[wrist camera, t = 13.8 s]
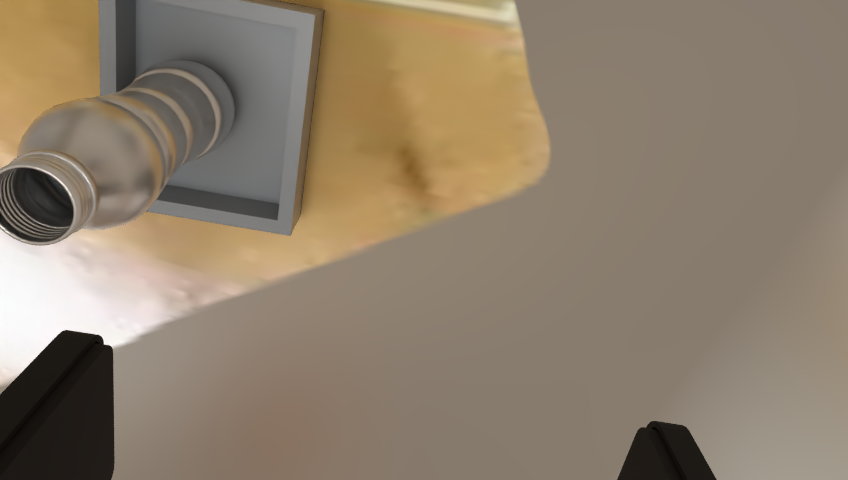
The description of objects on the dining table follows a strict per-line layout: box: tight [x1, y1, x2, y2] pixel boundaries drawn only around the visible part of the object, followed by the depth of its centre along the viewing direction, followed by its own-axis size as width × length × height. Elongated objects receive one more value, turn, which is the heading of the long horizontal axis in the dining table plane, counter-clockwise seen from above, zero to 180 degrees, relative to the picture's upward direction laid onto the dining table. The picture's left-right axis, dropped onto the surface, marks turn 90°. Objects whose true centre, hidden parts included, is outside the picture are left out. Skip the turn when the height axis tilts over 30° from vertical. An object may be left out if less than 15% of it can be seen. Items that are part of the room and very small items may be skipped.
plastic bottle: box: [0, 60, 235, 245], centre depth 35 cm, size 6×7×20 cm
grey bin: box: [99, 0, 324, 236], centre depth 43 cm, size 15×13×4 cm
